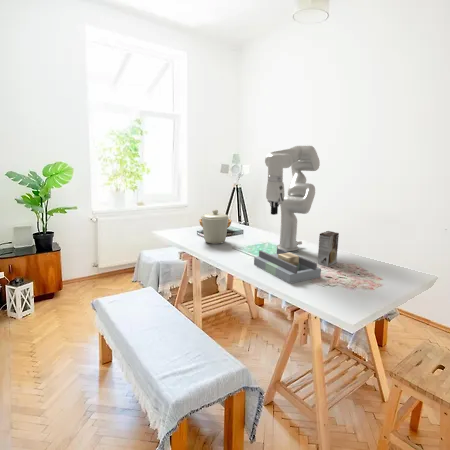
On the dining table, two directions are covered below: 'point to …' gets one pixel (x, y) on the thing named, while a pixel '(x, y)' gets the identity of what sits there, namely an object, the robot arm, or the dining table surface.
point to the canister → (215, 227)
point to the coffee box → (328, 248)
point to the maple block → (289, 258)
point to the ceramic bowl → (228, 222)
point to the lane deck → (287, 267)
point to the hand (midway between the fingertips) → (274, 214)
